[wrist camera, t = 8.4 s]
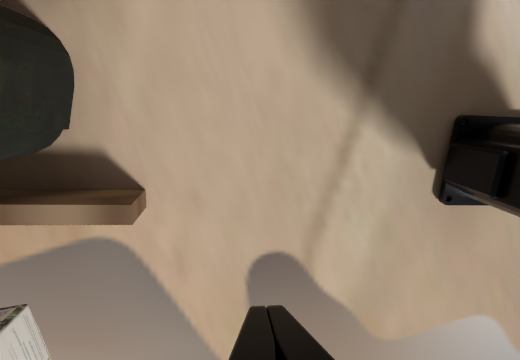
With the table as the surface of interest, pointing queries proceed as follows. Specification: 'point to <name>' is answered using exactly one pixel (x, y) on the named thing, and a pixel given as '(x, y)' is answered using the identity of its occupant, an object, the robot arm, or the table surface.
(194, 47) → the table surface
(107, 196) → the tray
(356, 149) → the table surface
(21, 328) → the syrup box
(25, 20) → the sushi
